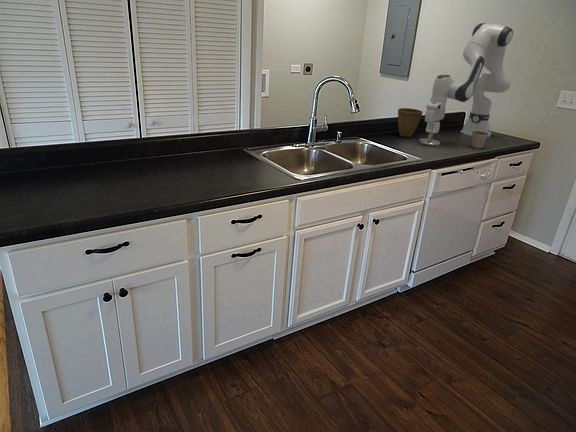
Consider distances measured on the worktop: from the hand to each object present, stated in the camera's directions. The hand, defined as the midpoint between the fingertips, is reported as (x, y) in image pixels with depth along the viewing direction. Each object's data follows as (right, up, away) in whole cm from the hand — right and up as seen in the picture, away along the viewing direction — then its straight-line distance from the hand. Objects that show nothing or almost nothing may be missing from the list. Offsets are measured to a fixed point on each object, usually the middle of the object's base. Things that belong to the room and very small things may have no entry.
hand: (432, 128), depth 236 cm
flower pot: (+27, -11, +1) cm, 29 cm away
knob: (0, -2, +1) cm, 2 cm away
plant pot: (-11, -1, +18) cm, 21 cm away
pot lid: (-1, -8, +4) cm, 9 cm away
